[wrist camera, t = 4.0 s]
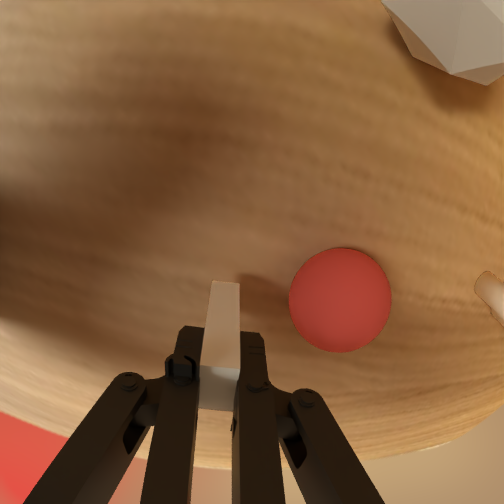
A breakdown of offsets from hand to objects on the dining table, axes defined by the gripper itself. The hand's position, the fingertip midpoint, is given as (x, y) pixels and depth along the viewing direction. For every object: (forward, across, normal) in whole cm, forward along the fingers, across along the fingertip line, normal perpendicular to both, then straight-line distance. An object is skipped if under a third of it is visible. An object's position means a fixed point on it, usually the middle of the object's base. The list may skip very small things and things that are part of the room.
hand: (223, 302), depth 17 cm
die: (+3, +10, +19) cm, 22 cm away
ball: (0, +7, +1) cm, 7 cm away
